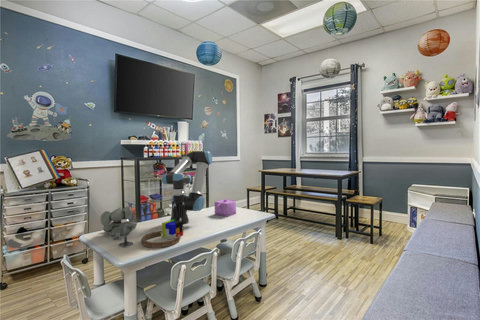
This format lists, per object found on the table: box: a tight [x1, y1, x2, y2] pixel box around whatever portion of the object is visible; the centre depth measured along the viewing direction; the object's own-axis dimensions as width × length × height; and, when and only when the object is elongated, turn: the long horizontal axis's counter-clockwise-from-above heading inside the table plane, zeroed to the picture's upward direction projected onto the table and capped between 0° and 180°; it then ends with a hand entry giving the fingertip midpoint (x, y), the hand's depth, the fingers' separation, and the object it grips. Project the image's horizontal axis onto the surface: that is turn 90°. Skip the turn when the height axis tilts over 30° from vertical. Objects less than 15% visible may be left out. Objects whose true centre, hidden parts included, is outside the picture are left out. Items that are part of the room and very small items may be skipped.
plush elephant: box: [100, 206, 137, 240], centre depth 188 cm, size 27×22×21 cm
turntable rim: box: [141, 230, 181, 249], centre depth 171 cm, size 24×21×3 cm
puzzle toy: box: [161, 219, 184, 240], centre depth 182 cm, size 10×10×10 cm
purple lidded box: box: [214, 198, 237, 217], centre depth 243 cm, size 15×25×14 cm, turn 143°
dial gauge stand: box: [118, 218, 138, 248], centre depth 166 cm, size 8×8×16 cm
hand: (179, 226), depth 189 cm, fingers closed
